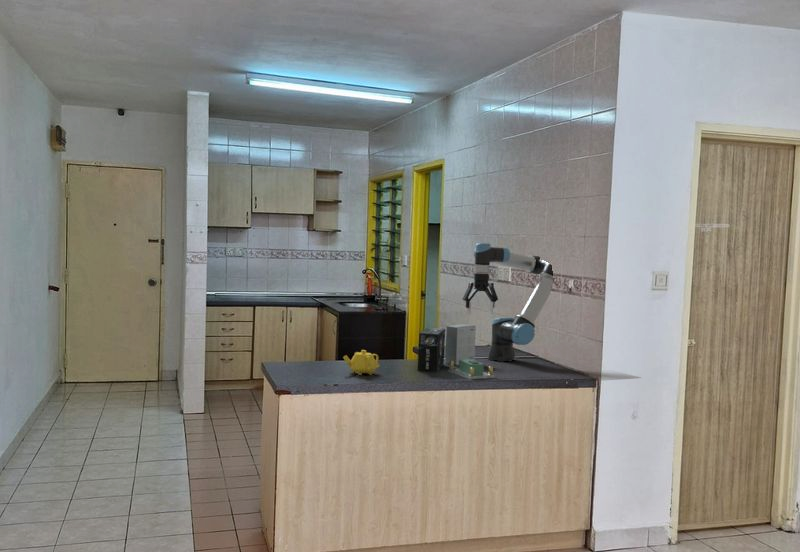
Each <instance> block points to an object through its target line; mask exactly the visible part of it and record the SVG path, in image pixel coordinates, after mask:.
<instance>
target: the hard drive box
mask: <svg viewBox="0 0 800 552" xmlns="http://www.w3.org/2000/svg"><path fill="white" fill-rule="evenodd" d="M445 327H446V328H445V355H444V359H445V360H444V361H445V362H444V365H445V364H446V365H450V361H454V367H455V366H459V359H473V360H475V361H476V359H475V357H476V330H477V329H476V325H474V324H469V323H468V324H465V323H463V324H454V325H446V326H445Z"/></svg>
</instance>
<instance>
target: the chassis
mask: <svg viewBox="0 0 800 552" xmlns="http://www.w3.org/2000/svg"><path fill="white" fill-rule="evenodd" d="M447 372H449V373H452V374H455V375H458V376H461V377H464V378H466V379H469V380H480V379H482V380H483V379H494V378H495V375H494V366H492V365H489V366H488V372H485V371H484V372H483V375H474V367H470V375H469V374H467V373H465V372H463V371H461V370H459V367H458V368H455V365H454V361H450V364H449V368H448V371H447Z"/></svg>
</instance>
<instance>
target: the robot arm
mask: <svg viewBox="0 0 800 552" xmlns="http://www.w3.org/2000/svg"><path fill="white" fill-rule="evenodd" d="M473 256H474V274H473V276H474V277H473V280H474V281H473V282H471V281H469V282H468V287H467V288H466V290H465V293H464V294H463V297H462V301H464V302H465V308H466V315H469V316H470V315H471V314H472V301H471V300H472V299H473V298H474V297H475V295H476V294H477V293H478V292H484V293H485V294H486V295H487V297H488V299H489V302H488V315H494V308H495V303H496V302H497V301H498V300H499V298H498V295H497V292H496V290H495V289H496V288H495V285H494V282H489V281H490V264H496V265H497V264H498V265H501V266H507V267H510V268H516V269H521V270H524V271H525V272H526V273H531V274H534V275H537V274H540V278H539V281H538V282H537V284H536V285H535V286H534V289H533V291H532V293H531V294H530V296H529V298H528V299H527V301H526V303H525V305H524V306H523V308H522V310H521V311H520V314H516V315H515V316H514V317H495V318H493V319H492V324H491V345H490V348H489V350H488V354H487V360H489V359H490V360H489V361H494V360H497V361H496V362H504V361H509V362H511V361H510V360H515V361H516V354H515V349H514V344H515V345H517V346H526V345H528V344H530V343H531V342H532V341H533V340H534V338H535V335H536V333H535V332H536V331H535V327H536V325H535V323H536V322H535V321H536V320H537V318H538V316H539V315H540V313H541V312H542V309H543V307H544V306H545V303H546V302H547V300H548V298H549V297H550V295H551V293H552V292H551V286H552V279H553V271H552V265H551V264H550V263H548V262H546V261H544V260H542V259H540V257H539V256H540V255H532V254H530V255H528V256H527V255H523V254H519V253H515V252H511V251H510V250H509V248H506V247H497V246H495V247H494V246H493V247H492V245H491V243H488V242H486V243H485V242H477V243H476V244H475V248H474V251H473ZM535 260H536V261H535ZM537 276H538V275H537ZM550 292H551V293H550Z"/></svg>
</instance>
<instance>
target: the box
mask: <svg viewBox="0 0 800 552" xmlns="http://www.w3.org/2000/svg"><path fill="white" fill-rule="evenodd" d="M418 334H419V335H418V350H417V351H418V353H417V372H428V373H437V372H439V371H440V369H441V368H442V367H443V366H444V365H445V362H444V361H445V360H444V359H445V345H446V328H443V327H442V328H440V327H439V328H438V327H426V328H425V329H423V330H422V331H420V332H419V333H418Z"/></svg>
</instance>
